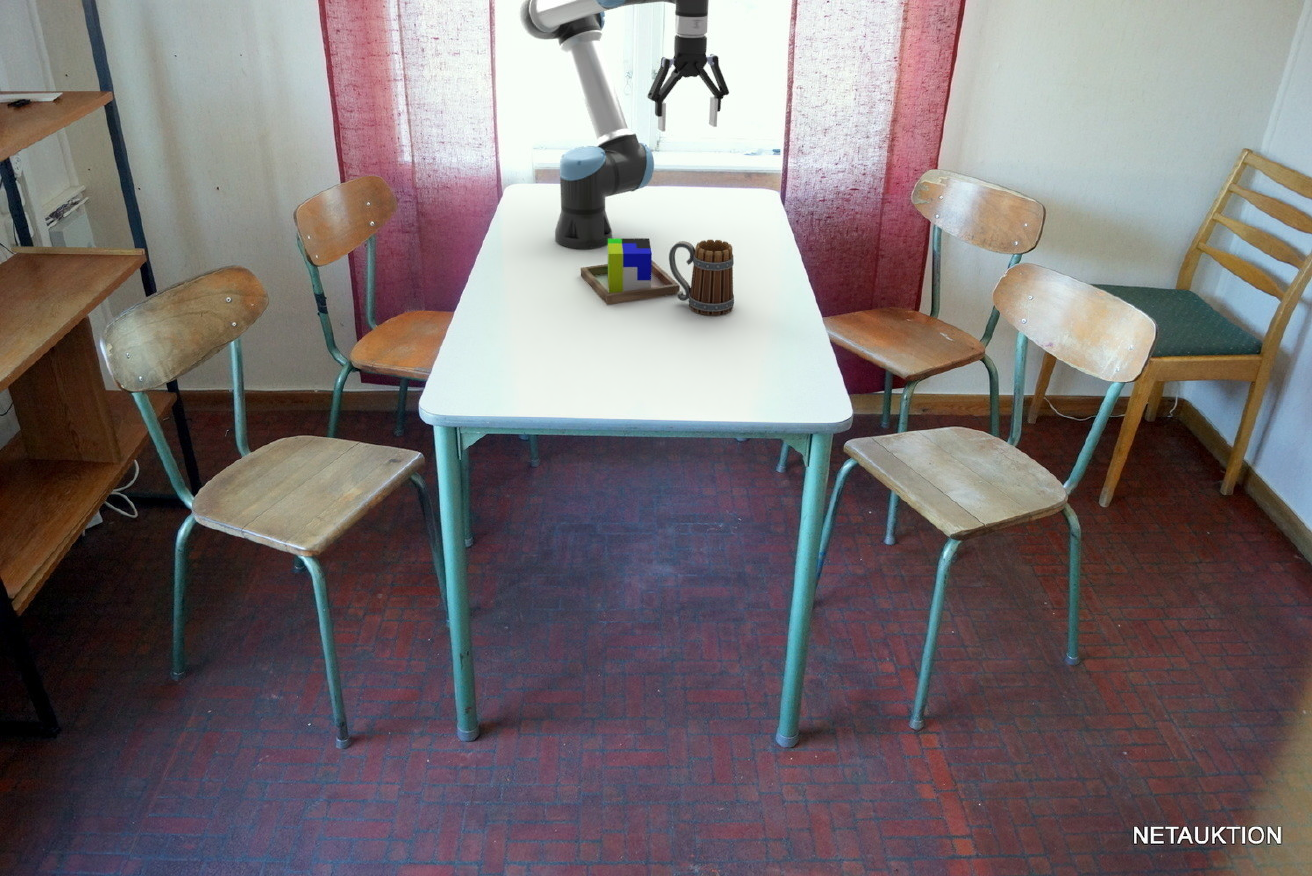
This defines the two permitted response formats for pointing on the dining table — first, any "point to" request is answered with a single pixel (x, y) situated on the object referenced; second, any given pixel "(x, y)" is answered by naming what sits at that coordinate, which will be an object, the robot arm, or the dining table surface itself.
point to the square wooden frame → (626, 296)
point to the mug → (707, 277)
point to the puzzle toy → (629, 264)
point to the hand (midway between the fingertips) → (687, 128)
